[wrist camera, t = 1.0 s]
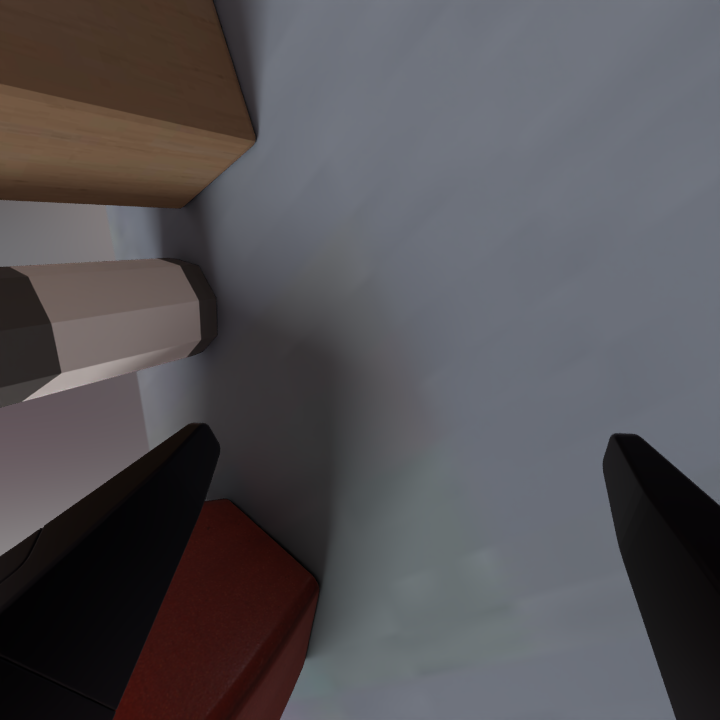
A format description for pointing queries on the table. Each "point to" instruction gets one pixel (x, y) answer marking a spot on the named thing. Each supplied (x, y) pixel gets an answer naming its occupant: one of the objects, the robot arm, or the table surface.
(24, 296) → the wine bottle
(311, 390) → the table surface
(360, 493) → the table surface
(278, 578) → the plant pot
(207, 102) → the wooden block
